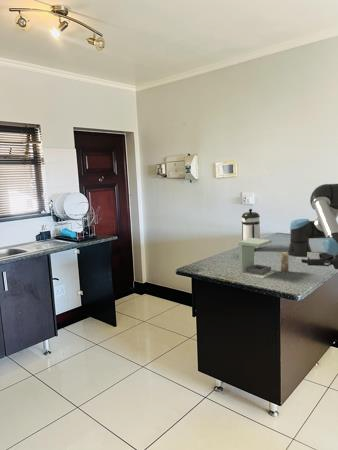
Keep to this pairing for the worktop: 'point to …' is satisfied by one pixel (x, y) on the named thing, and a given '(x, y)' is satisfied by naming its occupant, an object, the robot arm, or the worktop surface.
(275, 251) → the worktop surface
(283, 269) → the peg
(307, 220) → the robot arm
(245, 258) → the awning socket
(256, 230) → the coffee press
